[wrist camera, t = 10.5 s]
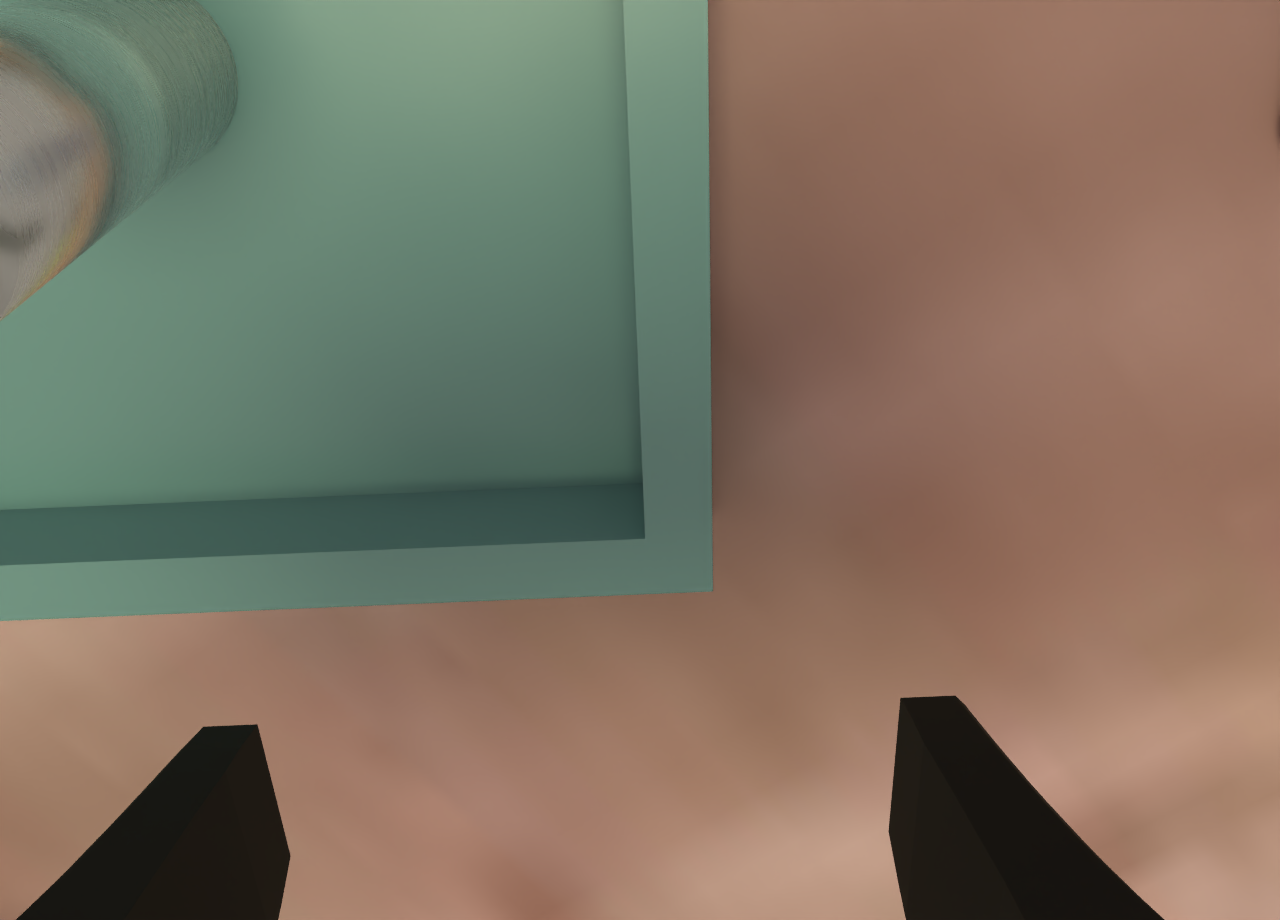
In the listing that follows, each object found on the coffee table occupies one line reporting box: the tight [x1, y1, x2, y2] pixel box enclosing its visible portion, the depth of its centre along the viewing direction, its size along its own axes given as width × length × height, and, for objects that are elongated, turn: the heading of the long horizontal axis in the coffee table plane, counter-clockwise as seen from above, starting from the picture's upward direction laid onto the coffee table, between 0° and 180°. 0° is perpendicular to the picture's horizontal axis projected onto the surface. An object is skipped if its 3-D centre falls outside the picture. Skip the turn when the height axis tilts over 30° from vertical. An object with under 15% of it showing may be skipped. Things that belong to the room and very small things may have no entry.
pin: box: [0, 0, 238, 321], centre depth 15 cm, size 3×3×8 cm
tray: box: [0, 0, 713, 621], centre depth 18 cm, size 18×18×3 cm
